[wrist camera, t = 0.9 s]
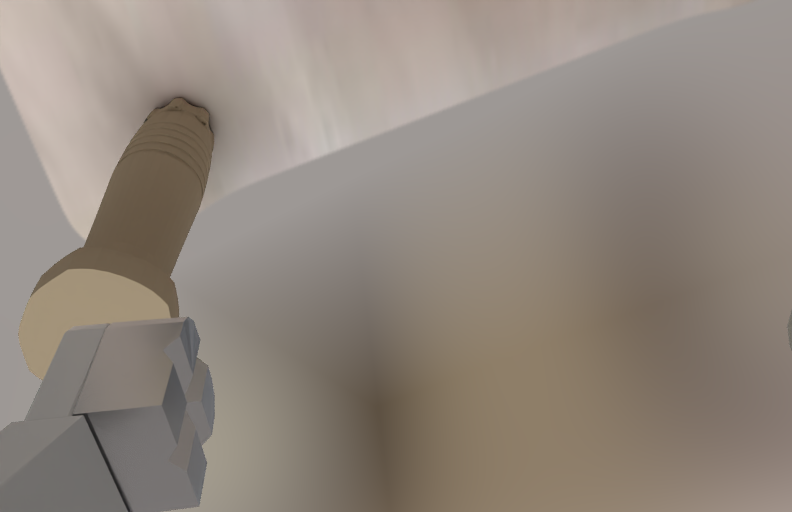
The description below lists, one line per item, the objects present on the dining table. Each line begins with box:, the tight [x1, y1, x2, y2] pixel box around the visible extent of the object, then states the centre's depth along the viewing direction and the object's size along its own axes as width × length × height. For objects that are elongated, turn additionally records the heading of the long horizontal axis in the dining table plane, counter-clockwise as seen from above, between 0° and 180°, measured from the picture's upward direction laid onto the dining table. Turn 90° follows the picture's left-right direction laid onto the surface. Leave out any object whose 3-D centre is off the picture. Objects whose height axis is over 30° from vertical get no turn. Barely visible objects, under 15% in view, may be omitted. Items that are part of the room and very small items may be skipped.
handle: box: [18, 98, 214, 380], centre depth 30 cm, size 5×6×15 cm
